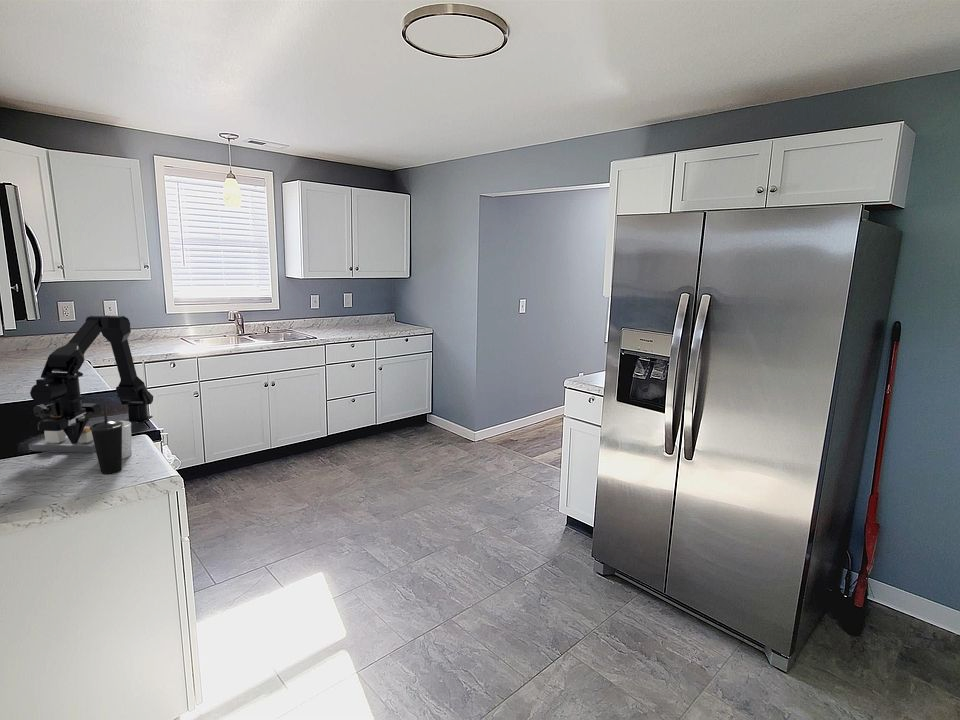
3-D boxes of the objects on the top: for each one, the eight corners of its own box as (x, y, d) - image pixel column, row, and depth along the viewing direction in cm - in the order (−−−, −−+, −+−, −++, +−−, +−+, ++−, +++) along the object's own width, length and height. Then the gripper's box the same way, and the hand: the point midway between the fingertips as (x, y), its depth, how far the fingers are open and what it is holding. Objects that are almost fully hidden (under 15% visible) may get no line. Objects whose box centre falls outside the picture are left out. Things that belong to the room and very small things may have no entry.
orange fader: (81, 439, 169) (79, 426, 168) (94, 439, 169) (93, 427, 168) (74, 442, 166) (72, 429, 165) (87, 442, 166) (86, 430, 165)
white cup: (139, 451, 166) (136, 420, 164) (123, 461, 159) (120, 429, 157) (113, 451, 166) (110, 420, 164) (96, 460, 158) (92, 428, 156)
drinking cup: (91, 478, 147) (83, 408, 143) (98, 467, 154) (90, 400, 150) (124, 474, 150) (117, 405, 146) (129, 464, 157) (123, 398, 153)
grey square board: (74, 431, 181) (74, 425, 181) (129, 433, 182) (128, 427, 181) (32, 451, 164) (31, 444, 163) (92, 452, 164) (91, 446, 164)
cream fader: (52, 439, 168) (51, 426, 167) (66, 439, 168) (64, 426, 167) (45, 442, 165) (43, 429, 164) (59, 443, 165) (57, 429, 164)
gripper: (64, 385, 169) (69, 432, 172) (14, 402, 151) (22, 454, 154) (100, 386, 169) (105, 433, 172) (55, 403, 151) (62, 455, 154)
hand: (74, 443), depth 163 cm, fingers closed
